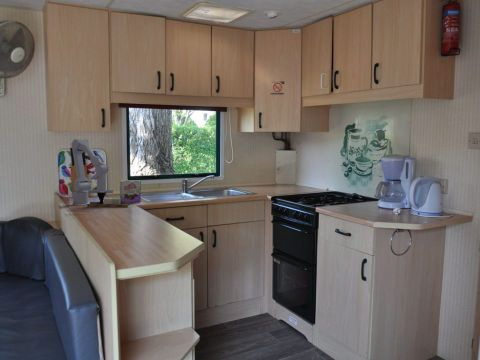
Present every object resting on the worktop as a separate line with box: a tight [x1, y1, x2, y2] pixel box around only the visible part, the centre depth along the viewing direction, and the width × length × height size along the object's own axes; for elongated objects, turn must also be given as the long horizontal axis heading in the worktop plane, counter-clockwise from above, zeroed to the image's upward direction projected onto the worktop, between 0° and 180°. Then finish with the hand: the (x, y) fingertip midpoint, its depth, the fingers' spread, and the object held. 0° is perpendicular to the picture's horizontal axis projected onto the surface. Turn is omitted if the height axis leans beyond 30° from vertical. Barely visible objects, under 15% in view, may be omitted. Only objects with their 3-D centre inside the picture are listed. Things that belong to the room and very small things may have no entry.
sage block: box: [111, 197, 120, 204], centre depth 282 cm, size 5×6×5 cm
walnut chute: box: [86, 201, 130, 208], centre depth 282 cm, size 25×13×3 cm, turn 100°
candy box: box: [119, 179, 142, 203], centre depth 301 cm, size 14×6×16 cm, turn 105°
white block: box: [103, 197, 113, 204], centre depth 281 cm, size 5×6×5 cm
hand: (101, 204), depth 281 cm, fingers closed
